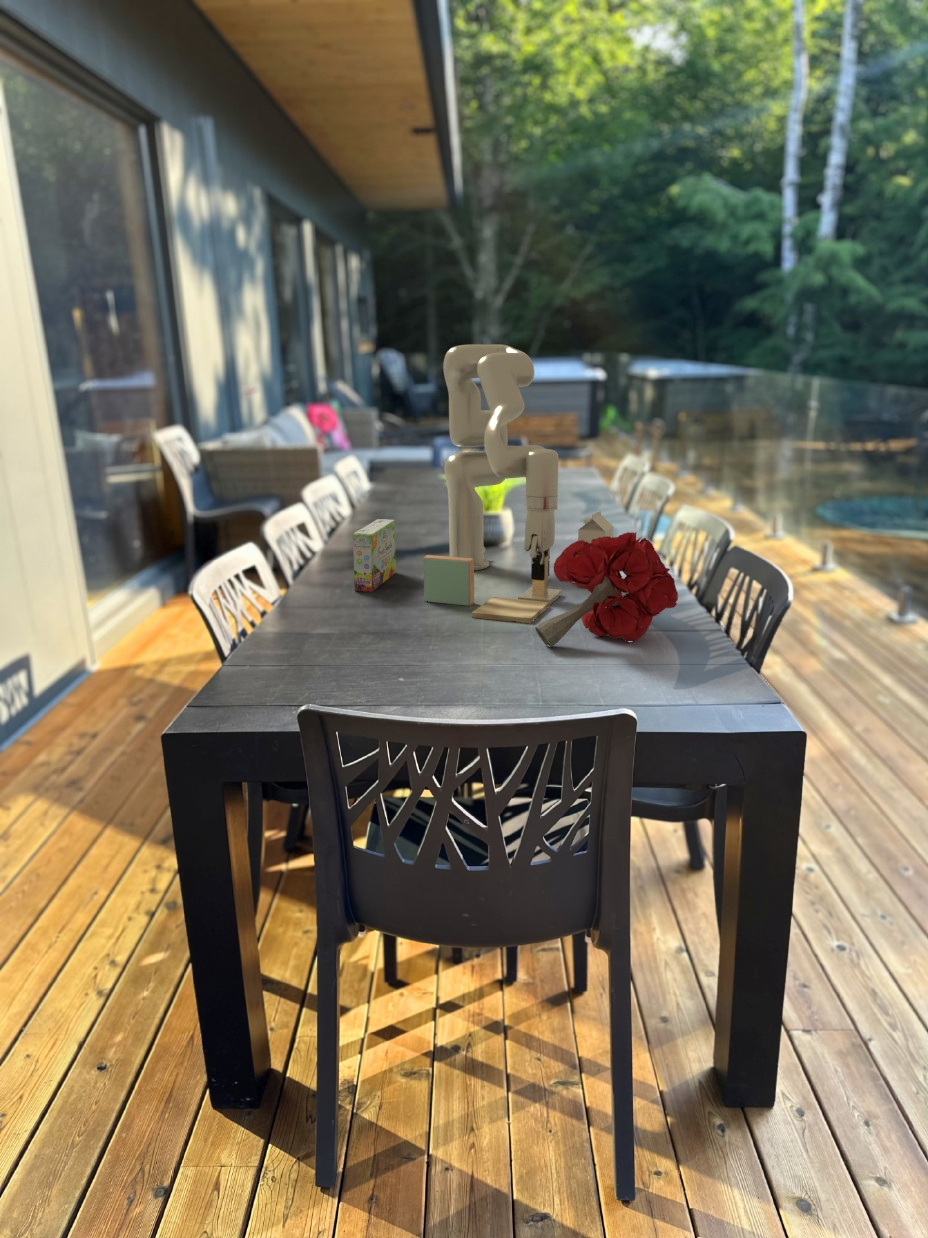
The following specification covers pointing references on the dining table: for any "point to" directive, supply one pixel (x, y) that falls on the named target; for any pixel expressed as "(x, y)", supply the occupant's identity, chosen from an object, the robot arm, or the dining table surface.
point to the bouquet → (612, 587)
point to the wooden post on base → (541, 589)
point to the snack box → (374, 554)
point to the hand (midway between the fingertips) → (540, 577)
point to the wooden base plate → (510, 610)
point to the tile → (449, 580)
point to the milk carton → (595, 528)
